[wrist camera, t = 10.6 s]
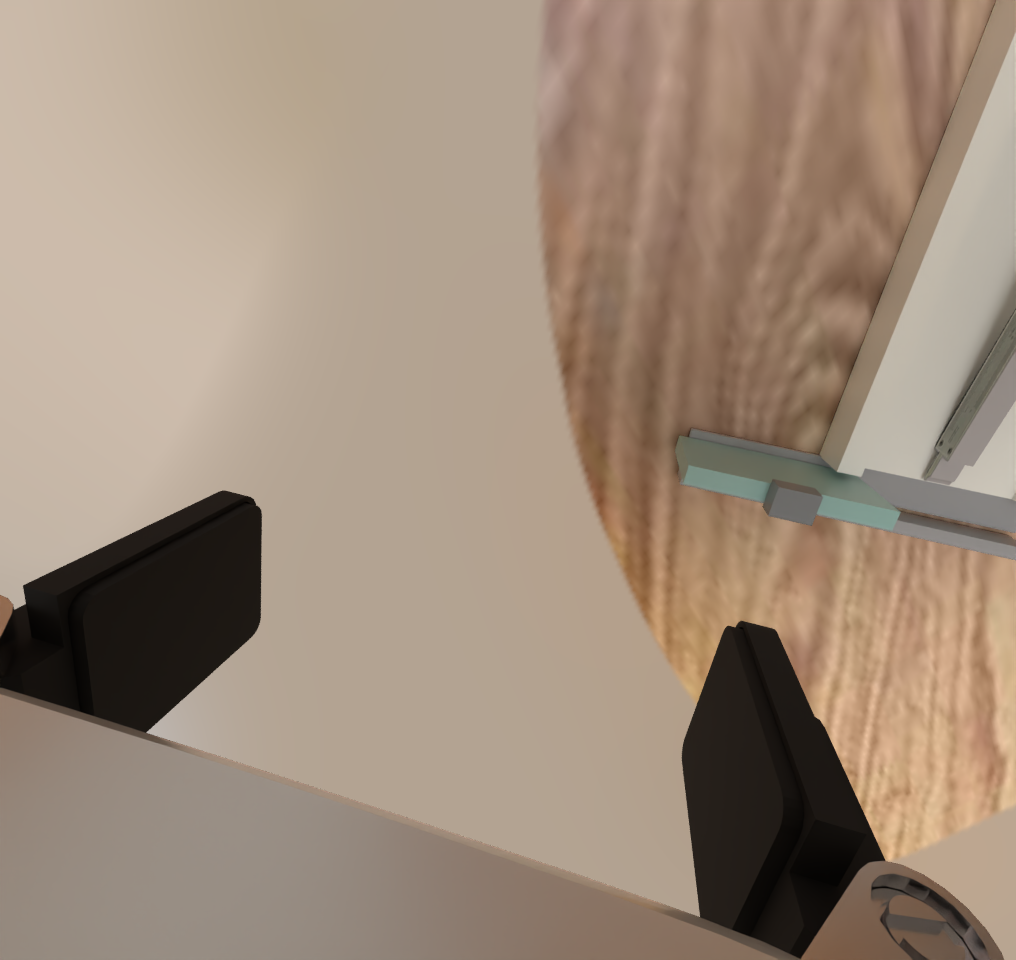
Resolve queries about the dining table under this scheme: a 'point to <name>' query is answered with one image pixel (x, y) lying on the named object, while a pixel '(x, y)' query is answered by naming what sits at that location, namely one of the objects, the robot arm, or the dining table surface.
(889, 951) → the robot arm
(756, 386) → the dining table surface
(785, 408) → the dining table surface
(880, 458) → the housing
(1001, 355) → the caliper
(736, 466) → the gate
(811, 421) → the dining table surface
